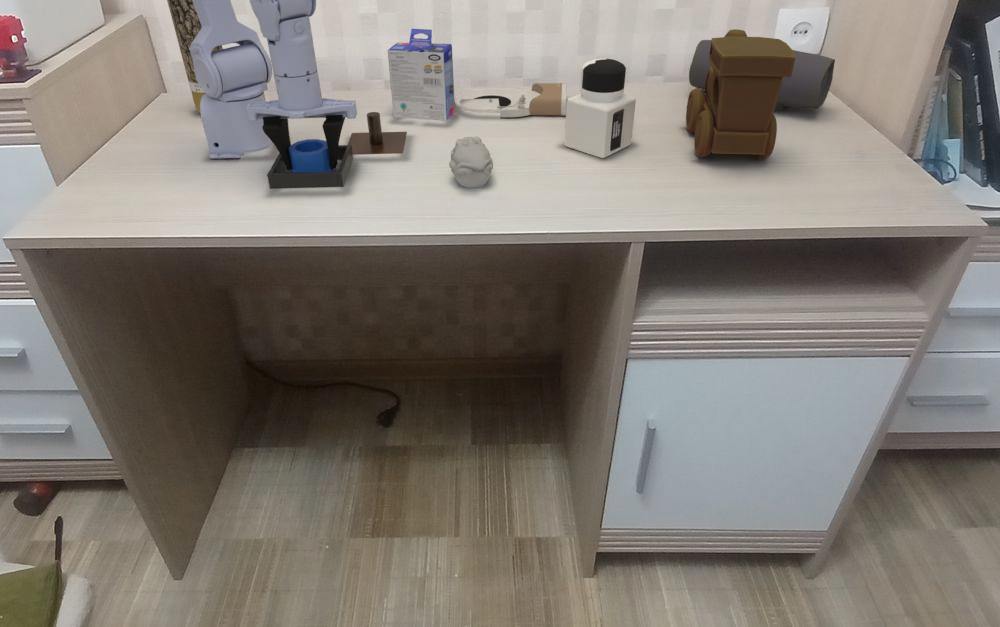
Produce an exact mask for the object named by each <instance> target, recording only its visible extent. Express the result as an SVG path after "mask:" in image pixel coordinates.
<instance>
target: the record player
mask: <svg viewBox="0 0 1000 627" xmlns="http://www.w3.org/2000/svg"><path fill="white" fill-rule="evenodd" d="M493 99H495V100H496V99H497V100H498V106H497V109H484V108H483V109H482V108H480V109H479V108H470V107H465V106H463V105H462V104H461V100H488V102H489V103H492V102H493ZM454 102H455V107H457V108H458V109H460V110H463V111H466V112H472V113H482V114H484V113H486V114H499V116H500V118H522V117H527V116H565V117H566V105H567V83H562V82H561V83H560V82H559V83H557V82H553V83H552V82H550V83H549V82H535V83H533V84H532V86H531V89H528V88H517V87H484V88H483V87H481V88H474V89H473V88H472V89H468V90H465V91H462V92H460V93H458V94H457V95H456V96H454Z"/></svg>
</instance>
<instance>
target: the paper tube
mask: <svg viewBox="0 0 1000 627" xmlns="http://www.w3.org/2000/svg"><path fill="white" fill-rule="evenodd" d="M166 2H167V6H168V9H169V12H170V16H171V20H172V24H173V28H174V31H175V35H176V40H177V43H178V47H179V51H180V55H181V58H182V62H183V66H184V70H185V74H186V77H187V81H188V85H189V88H190V92H191V96H192V99H193V103H194V108H195V109H196V111H197V113H199V114H200V101H201V98H202V96H203V95H205V94H206V93H205V92H204V91H203V90H202V88H201V87H200V85H199V83H198V81H197V79H196V76H195V72H194V64H193V59H192V56H191V53H190V45H191V43H192V42H193V40H194V39H195V37H196V36H197V34H198V33H199V31H200V30H201V28H202V26H201V23H200V21H199V18H198V15H197V12H196V9H195V7H194V4H193V1H192V0H166ZM221 49H224V48H223V45H221V46H217V47H215V48H213V50H212V52H213V51H217V50H221Z"/></svg>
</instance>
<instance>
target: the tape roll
mask: <svg viewBox="0 0 1000 627" xmlns="http://www.w3.org/2000/svg"><path fill="white" fill-rule="evenodd" d="M288 150H289V156H290V161H291V165H292V170H291V171H292V173H302V172H335V171H334V170H335V169H331V168H330V163H329V153H328V146H327V142H326V140H324V139H319V138H318V139H317V138H310V139H309V138H307V139H302V140H298V141H296V142H293V143H291V145H290V147H289V149H288Z"/></svg>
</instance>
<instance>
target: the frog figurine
mask: <svg viewBox="0 0 1000 627" xmlns="http://www.w3.org/2000/svg"><path fill="white" fill-rule="evenodd" d="M493 162H494V161H493V158H492V157H491V154H490V151H489V149H488V148H487V147H486V145H485V143H483V140H482V138H480V137H479V136H464V137H463V138H462V139H461V138H458V139H456V142H455V145H454V147H453V148H452V150H451V151H450V161H449V163H448V164H449V168H450V171H451V173H452V174H453V176H454V178H455V180H456V181H457V183H458V184H459V186H461V187H465V188H469V189H470V188H471V189H472V188H473V189H474V188H481V187H483V186H485V185H486V184H487V183H488V181H489V179H490V177H491V175H492V170H493V169H494V163H493Z"/></svg>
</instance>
